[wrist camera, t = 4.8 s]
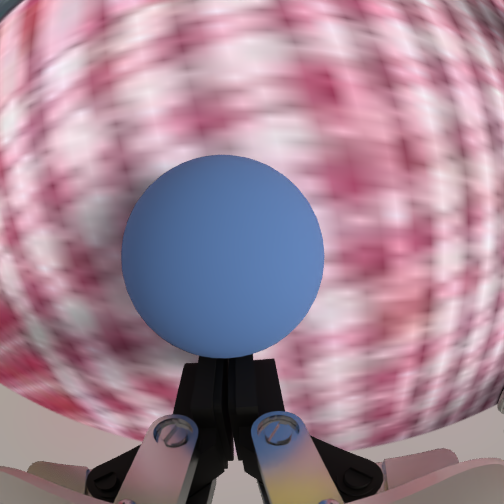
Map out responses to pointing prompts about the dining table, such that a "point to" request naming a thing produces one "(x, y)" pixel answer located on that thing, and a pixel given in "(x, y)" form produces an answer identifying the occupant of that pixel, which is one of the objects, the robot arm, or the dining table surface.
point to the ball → (222, 256)
